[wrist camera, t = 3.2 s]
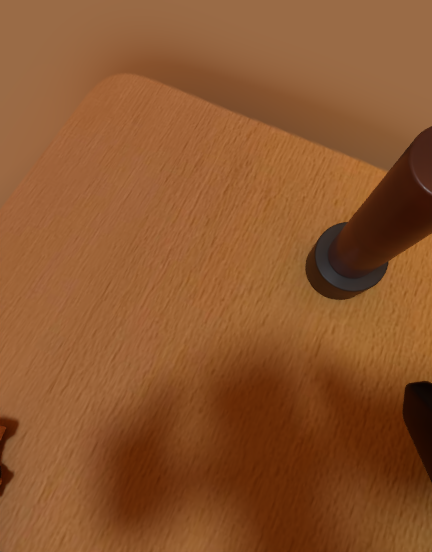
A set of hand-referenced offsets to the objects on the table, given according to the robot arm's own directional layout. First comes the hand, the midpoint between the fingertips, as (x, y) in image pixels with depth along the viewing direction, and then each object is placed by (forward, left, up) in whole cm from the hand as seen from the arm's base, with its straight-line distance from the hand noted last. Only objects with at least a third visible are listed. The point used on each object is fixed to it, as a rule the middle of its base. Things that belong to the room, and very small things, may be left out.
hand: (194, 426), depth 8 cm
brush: (+3, -9, -15) cm, 18 cm away
